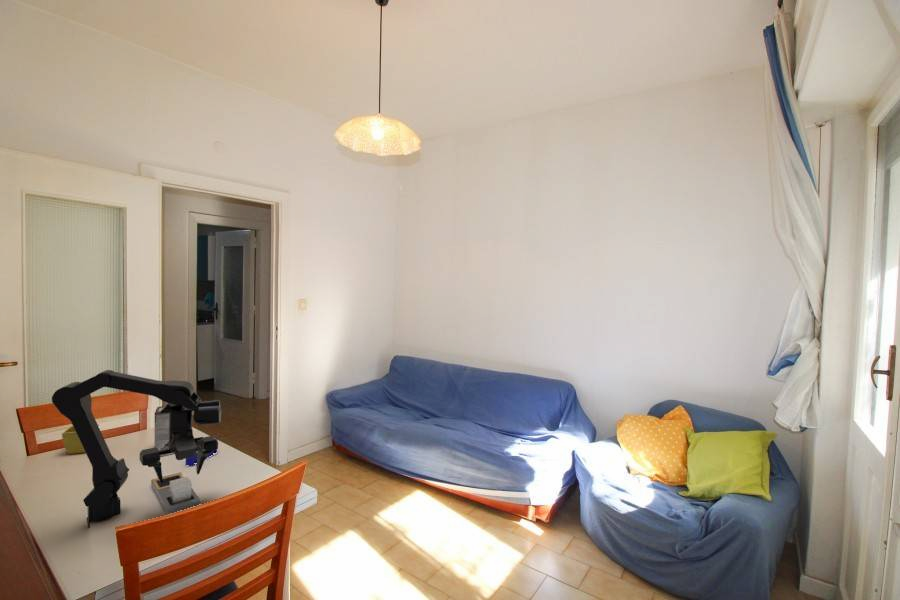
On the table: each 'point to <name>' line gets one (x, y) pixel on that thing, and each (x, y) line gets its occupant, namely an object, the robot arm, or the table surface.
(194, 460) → the blue notched block
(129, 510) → the table surface
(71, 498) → the table surface
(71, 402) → the robot arm
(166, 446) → the coffee box
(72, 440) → the flower pot
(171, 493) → the light grey block
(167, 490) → the slotted holder
